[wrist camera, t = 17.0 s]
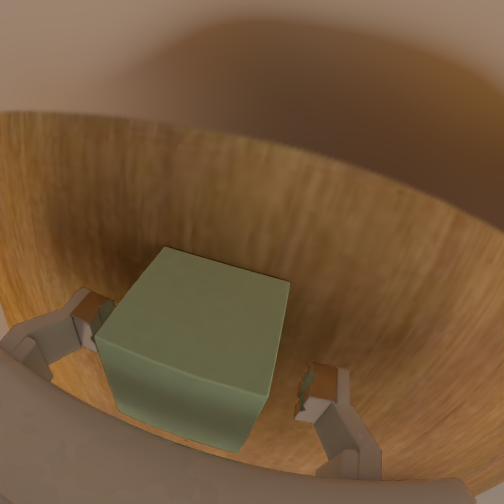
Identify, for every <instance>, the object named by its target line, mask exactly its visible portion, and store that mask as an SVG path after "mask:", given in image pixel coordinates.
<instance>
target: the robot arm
mask: <svg viewBox="0 0 504 504" xmlns="http://www.w3.org/2000/svg"><path fill="white" fill-rule="evenodd" d="M114 307H115V303H114V300H112V299H110V298H108V297H105V296H103V295H101V294H98V293H96V292H94V291H92V290H89V289H87V288H85V287H82V288H80V289H79V290H78V291H77V292H76V293H75V294H74V296H73V297H72V298H71V299H70V300H69V301H68V302H67V303H66V304H65V305H64V307H63V308H62V309H61V310H55V311H52V312H49V313H46V314H44V315H41V316H38V317H36V318H33V319H30V320H27V321H25V322H22V323H19V324H17V325H14V326H13V327H12V328H11V329H10V331H9V332H8V333H7V334H6V335H5V336H4V337H3V339H2V340H1V341H0V504H477V502H476V499H475V498H474V496H473V494H472V493H471V491H470V490H469V489H468V487H467V486H466V485H465V483H464V482H463V481H462V480H461V479H460V478H457V477H449V478H440V479H427V480H406V481H381V472H382V451H381V449H380V448H379V446H378V444H377V443H376V441H375V440H374V438H373V436H372V435H371V433H370V432H369V430H368V428H367V427H366V425H365V424H364V422H363V420H362V419H361V417H360V416H359V414H358V412H357V411H356V409H355V408H354V406H351V405H350V371H349V369H344V368H339V367H336V366H331V365H326V364H321V363H317V362H310V364H309V365H308V368H307V372H306V373H304V374H303V376H302V378H301V380H300V383H299V387H298V392H297V396H298V398H299V400H298V402H297V403H296V406H295V413H294V419H295V420H299V421H304V422H308V423H313V424H314V426H315V429H316V431H317V433H318V435H319V438H320V440H321V442H322V445H323V447H324V449H325V452H326V454H327V456H328V459H329V461H328V462H327V463H325V464H324V465H323V466H321V467H320V468H318V469H317V470H316V476H311V475H304V474H297V473H291V472H285V471H279V470H274V469H269V468H264V467H259V466H255V465H250V464H246V463H242V462H238V461H234V460H230V459H226V458H223V457H219V456H216V455H212V454H209V453H206V452H202V451H199V450H196V449H193V448H190V447H187V446H184V445H181V444H178V443H176V442H173V441H170V440H167V439H165V438H162V437H159V436H157V435H154V434H152V433H149V432H147V431H145V430H142V429H140V428H137V427H135V426H133V425H131V424H128V423H126V422H124V421H122V420H120V419H117V418H115V417H113V416H111V415H109V414H107V413H105V412H103V411H101V410H99V409H97V408H95V407H93V406H91V405H89V404H88V403H86V402H84V401H82V400H80V399H78V398H77V397H75V396H73V395H71V394H70V393H68V392H66V391H64V390H63V389H61V388H59V387H58V386H56V385H54V384H53V383H51V382H50V381H51V379H52V378H53V374H52V372H51V370H50V368H49V366H48V365H50V364H52V363H54V362H55V361H57V360H59V359H61V358H63V357H65V356H66V355H68V354H70V353H72V352H74V351H75V350H77V349H79V348H81V346H82V347H85V348H87V349H89V350H91V351H93V352H96V353H99V352H98V348H97V345H96V341H95V338H94V337H95V334H96V333H97V332H98V330H99V329H100V328H101V326H102V325H103V324H104V322H105V321H106V320H107V318H108V317H109V316H110V314H111V313H112V312H113V308H114Z"/></svg>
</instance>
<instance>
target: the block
mask: <svg viewBox="0 0 504 504" xmlns="http://www.w3.org/2000/svg"><path fill="white" fill-rule="evenodd" d="M289 288H290V282H288V281H284V280H281V279H277V278H273V277H270V276H266V275H263V274H259V273H255V272H252V271H248V270H245V269H241V268H238V267H234V266H231V265H227V264H224V263H220V262H217V261H213V260H210V259H206V258H203V257H199V256H196V255H192V254H189V253H186V252H182V251H179V250H175V249H172V248H169V247H164V248H163V249H162V250H161V251H160V253H159V254H158V255H157V256H156V257H155V259H154V260H153V261H152V262H151V264H150V265H149V266H148V267H147V268H146V270H145V271H144V272H143V273H142V275H141V276H140V277H139V278H138V280H137V281H136V282H135V283H134V285H133V286H132V287H131V288H130V290H129V291H128V292H127V293H126V295H125V296H124V297H123V299H122V300H121V301H120V302H119V304H118V305H117V306H116V308H115V309H114V310H113V312H112V313H111V314H110V316H109V317H108V318H107V320H106V321H105V322H104V324H103V325H102V326H101V328H100V329H99V330H98V332H97V333H96V334H95V337H94V338H95V341H96V345H97V348H98V352H99V355H100V358H101V361H102V364H103V367H104V371H105V374H106V376H107V379H108V382H109V385H110V388H111V391H112V393H113V396H114V399H115V401H116V404H117V406H118V409H119V411H120V412H122V413H124V414H126V415H128V416H130V417H133V418H135V419H137V420H140V421H142V422H145V423H147V424H149V425H152V426H154V427H157V428H160V429H162V430H165V431H167V432H170V433H173V434H176V435H178V436H181V437H184V438H187V439H190V440H193V441H196V442H199V443H203V444H206V445H209V446H212V447H216V448H219V449H223V450H226V451H230V452H234V453H239V452H240V450H241V448H242V446H243V444H244V443H245V441H246V439H247V437H248V435H249V433H250V432H251V430H252V428H253V426H254V424H255V422H256V420H257V418H258V417H259V415H260V413H261V411H262V409H263V407H264V405H265V403H266V401H267V399H268V397H269V393H270V388H271V383H272V378H273V373H274V369H275V364H276V359H277V353H278V348H279V343H280V338H281V333H282V327H283V322H284V316H285V311H286V305H287V300H288V294H289Z"/></svg>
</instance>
